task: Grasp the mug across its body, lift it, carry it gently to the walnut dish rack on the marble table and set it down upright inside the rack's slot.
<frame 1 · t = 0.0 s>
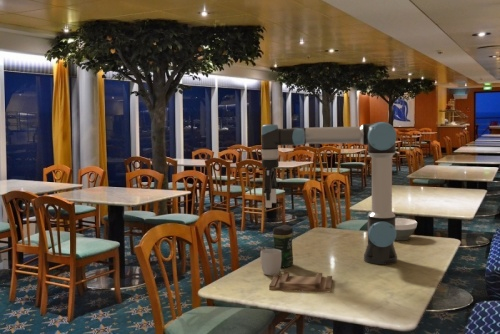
hand: (271, 205, 251), 28 cm above the table, fingers open, 13 cm apart
coffee jar: (283, 265, 253), on the table
mug: (273, 272, 242), on the table
bowl: (398, 238, 302), on the table
rack: (301, 284, 224), on the table
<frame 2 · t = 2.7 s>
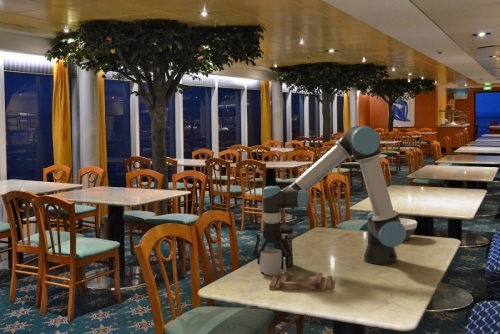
hand: (273, 271, 242), 0 cm above the table, fingers open, 10 cm apart
mug: (273, 272, 242), on the table, touching gripper
everything else where it was.
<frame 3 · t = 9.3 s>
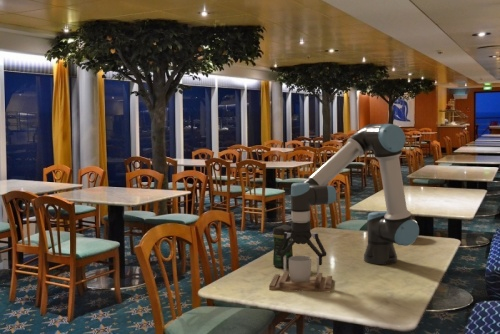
hand: (301, 272, 224), 5 cm above the table, fingers open, 13 cm apart
mug: (302, 281, 224), point 1 cm above the table, touching rack
everything else where it was.
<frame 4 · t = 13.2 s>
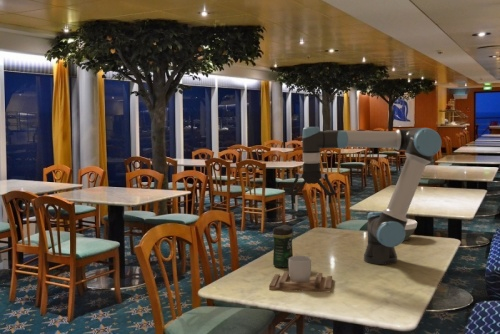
hand: (312, 210, 241), 27 cm above the table, fingers open, 13 cm apart
nothing on the table moved.
at the end: mug inside the target area on the rack (0.1 cm from its centre), point 0.8 cm above the rack's base; mug tilted 0°; the gripper is holding nothing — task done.
